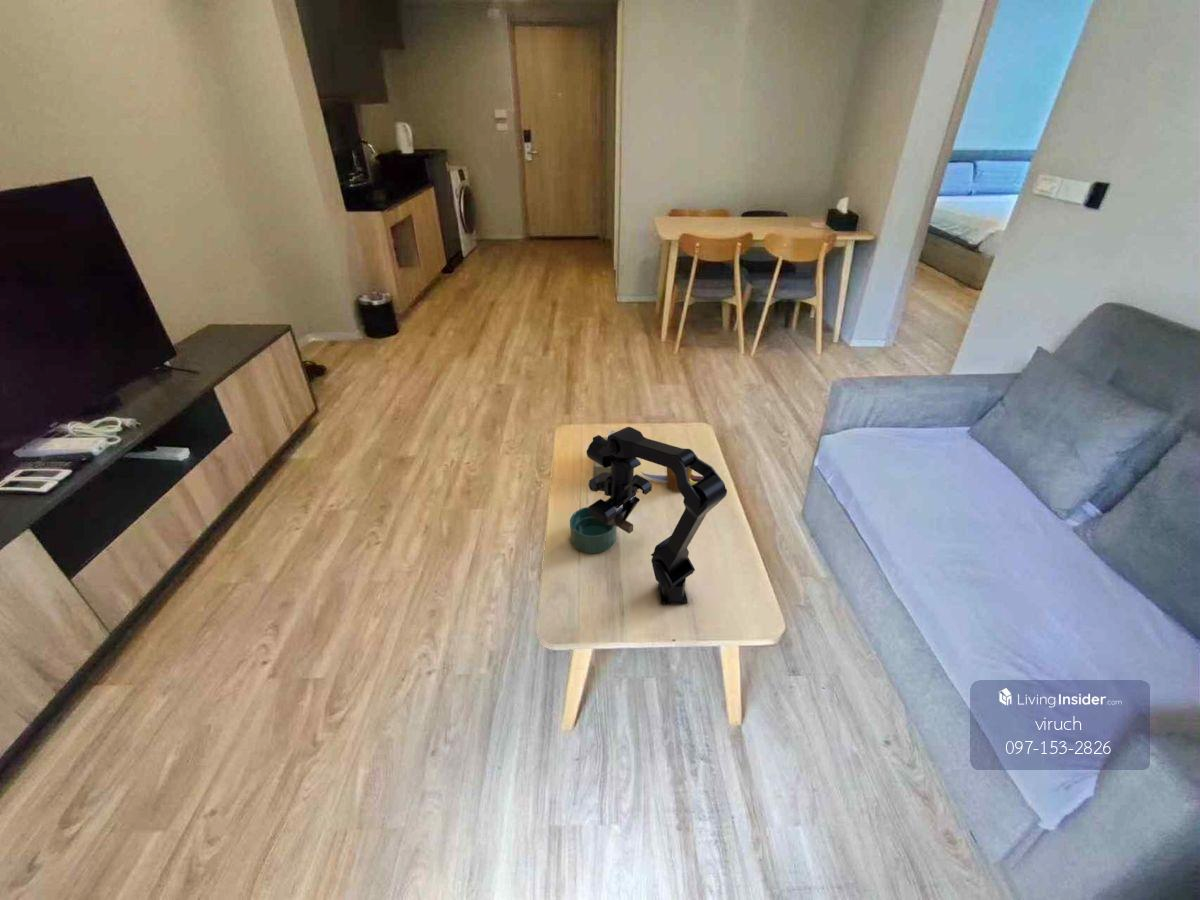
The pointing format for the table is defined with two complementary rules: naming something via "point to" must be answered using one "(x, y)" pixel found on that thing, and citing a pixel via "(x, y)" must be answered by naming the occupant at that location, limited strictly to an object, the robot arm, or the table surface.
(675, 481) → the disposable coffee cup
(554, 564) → the table surface
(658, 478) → the yellow curved piece
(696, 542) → the table surface
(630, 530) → the spoon
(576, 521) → the bucket
